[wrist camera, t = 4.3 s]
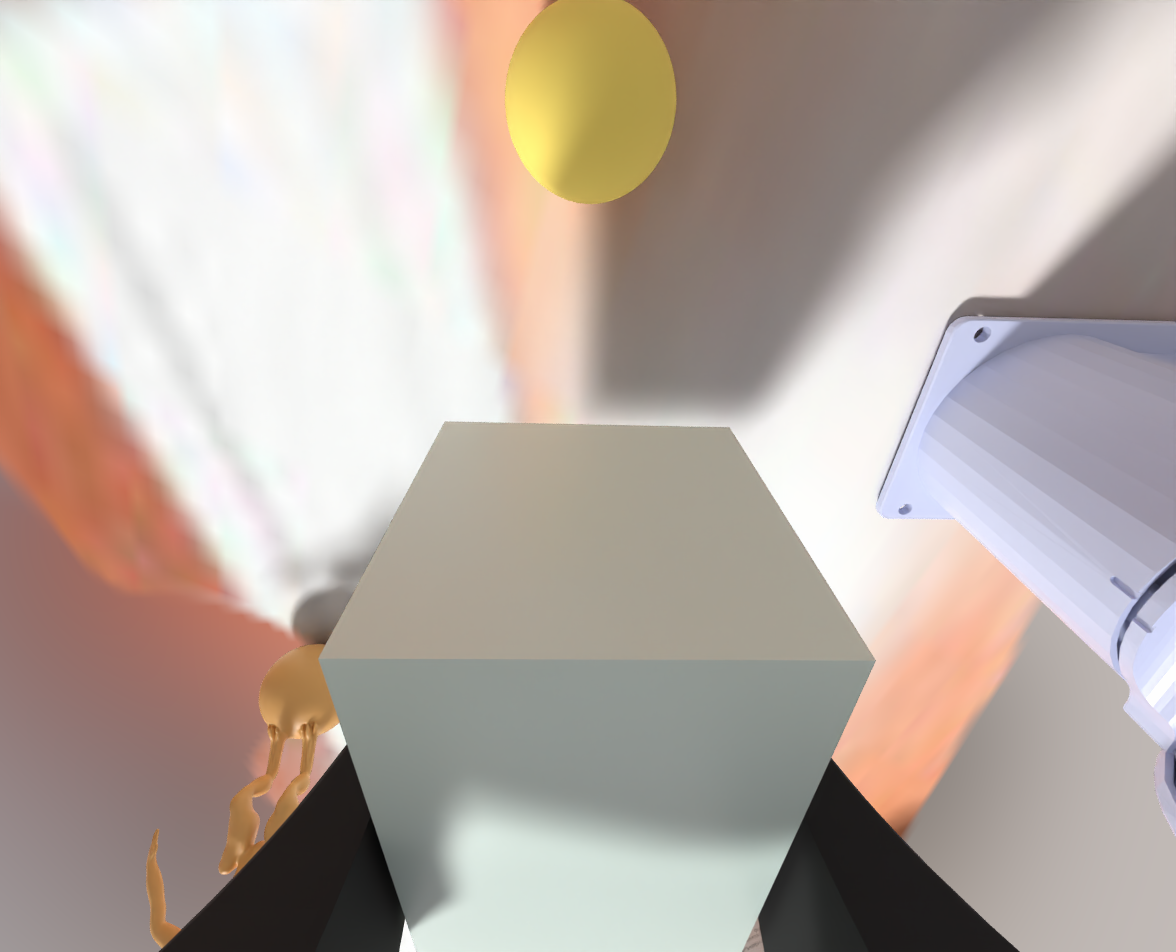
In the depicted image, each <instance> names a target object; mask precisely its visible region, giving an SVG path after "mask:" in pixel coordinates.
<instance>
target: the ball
mask: <svg viewBox="0 0 1176 952" xmlns="http://www.w3.org/2000/svg"><path fill="white" fill-rule="evenodd" d="M505 108H506V118H507V123H508V128H509V132H510V135H511V138H512V141H513V144H514V146H515V149H516V151H517V153H518V155H519V157H520V159H521V160H522V162H523V164H524V166H525V167H526V168H527V170H528V171H529V172H530V173H531V175H532V176H533V177H534V178H535V179H536V180H537V181H538V182H539V183H540V184H541V185H542V186H544V187H545V188H546V189H547V190H549V191H550V192H552V193H554V194H555V195H557V196H559V197H561V198H564V199H566V200H569V201H573V202H576V203H583V204H599V203H604V202H609V201H612V200H615V199H618V198H620V197H622V196H624V195H626V194H628V193H629V192H631V191H632V190H634V189H635V188H637V187H638V186H639V185H640V184H641V183H642V182H643V181H644V180H645V179H646V178H647V177H648V176H649V175H650V174H651V173H652V171H653V170H654V169H655V167H656V166H657V164H658V163H659V161H660V159H661V157H662V156H663V154H664V152H665V150H666V147H667V145H668V142H669V139H670V137H671V133H672V129H673V125H674V119H675V113H676V83H675V77H674V71H673V67H672V63H671V60H670V56H669V54H668V51H667V49H666V47H665V44H664V42H663V40H662V39H661V37H660V35H659V33H658V32H657V30H656V29H655V28H654V26H653V25H652V24H651V22H650V21H649V20H648V19H647V18H646V17H645V16H644V15H643V14H642V13H641V12H640V11H639V10H638V9H636V8H635V7H634V6H632V5H631V4H630V3H628V2H626V1H624V0H558V1H556V2H554V3H553V4H551V5H549V6H548V7H547V8H545V9H544V10H543V11H542V12H541V13H539V14H538V15H537V16H536V17H535V19H534V20H533V21H532V22H531V23H530V24H529V25H528V27H527V28H526V30H525V31H524V33H523V34H522V36H521V38H520V40H519V42H518V44H517V46H516V48H515V50H514V53H513V55H512V58H511V61H510V65H509V69H508V73H507V79H506V88H505Z"/></svg>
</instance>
